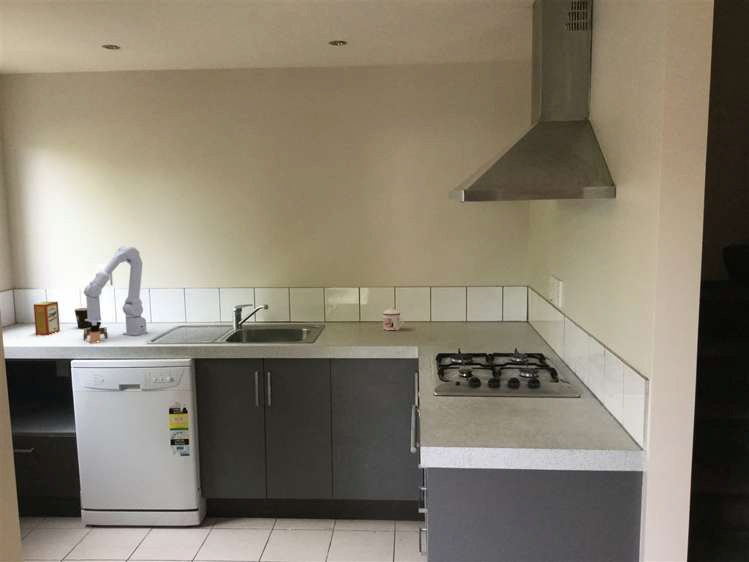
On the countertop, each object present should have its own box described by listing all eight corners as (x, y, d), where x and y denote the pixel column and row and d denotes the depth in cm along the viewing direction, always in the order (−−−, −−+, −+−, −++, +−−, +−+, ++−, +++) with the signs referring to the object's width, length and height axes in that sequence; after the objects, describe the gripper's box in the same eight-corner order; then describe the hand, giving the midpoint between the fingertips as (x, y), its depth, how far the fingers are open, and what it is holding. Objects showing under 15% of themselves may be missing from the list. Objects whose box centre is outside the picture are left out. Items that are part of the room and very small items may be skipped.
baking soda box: (47, 335, 304) (45, 303, 302) (35, 335, 305) (33, 303, 303) (59, 331, 313) (57, 300, 311) (48, 331, 314) (45, 300, 312)
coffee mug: (76, 326, 325) (74, 308, 324) (93, 325, 329) (92, 307, 327) (75, 330, 315) (74, 311, 313) (93, 329, 318) (92, 310, 317)
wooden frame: (84, 334, 304) (84, 329, 303) (107, 333, 308) (106, 327, 308) (83, 340, 292) (83, 334, 291) (107, 338, 296) (107, 332, 295)
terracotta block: (90, 341, 289) (89, 332, 289) (100, 340, 291) (99, 331, 291) (90, 343, 285) (89, 333, 285) (100, 342, 287) (99, 333, 287)
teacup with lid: (379, 329, 311) (379, 307, 309) (389, 327, 318) (389, 305, 316) (398, 332, 303) (398, 309, 302) (408, 329, 310) (408, 307, 309)
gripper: (84, 308, 295) (86, 335, 296) (84, 312, 282) (86, 341, 283) (100, 307, 298) (102, 334, 299) (100, 311, 284) (102, 339, 286)
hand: (95, 337), depth 291 cm, fingers closed
